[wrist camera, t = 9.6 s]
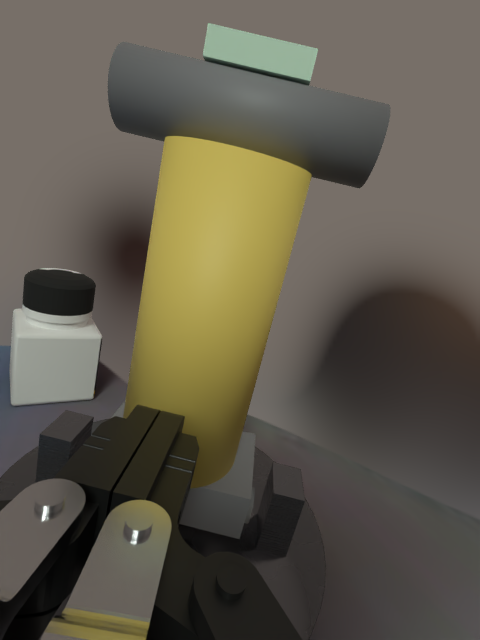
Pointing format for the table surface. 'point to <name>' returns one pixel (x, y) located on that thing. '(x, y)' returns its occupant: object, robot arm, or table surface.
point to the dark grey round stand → (254, 544)
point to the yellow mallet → (226, 231)
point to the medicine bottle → (54, 339)
